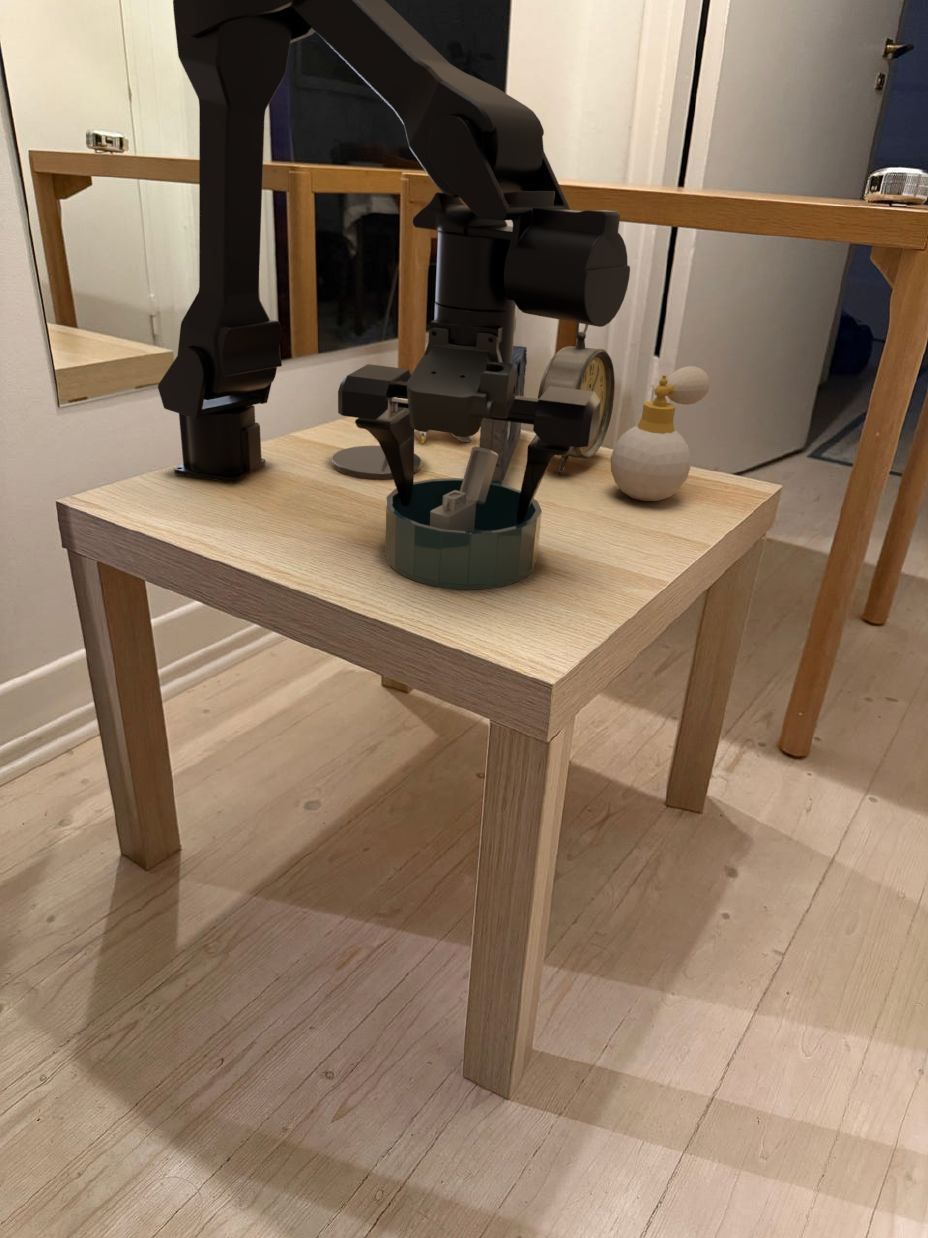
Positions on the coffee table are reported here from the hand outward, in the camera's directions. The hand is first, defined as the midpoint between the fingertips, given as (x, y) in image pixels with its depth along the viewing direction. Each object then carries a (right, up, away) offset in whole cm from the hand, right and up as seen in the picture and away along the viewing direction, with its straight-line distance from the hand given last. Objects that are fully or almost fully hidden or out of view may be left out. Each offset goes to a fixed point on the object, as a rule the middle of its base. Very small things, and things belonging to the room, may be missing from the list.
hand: (462, 513), depth 71 cm
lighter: (0, -3, +2) cm, 4 cm away
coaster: (-9, +7, +21) cm, 24 cm away
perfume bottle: (+18, +4, +18) cm, 26 cm away
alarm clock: (+11, +8, +25) cm, 29 cm away
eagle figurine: (-4, +12, +30) cm, 33 cm away
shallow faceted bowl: (0, -3, +2) cm, 4 cm away
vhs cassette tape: (+4, +9, +26) cm, 27 cm away
